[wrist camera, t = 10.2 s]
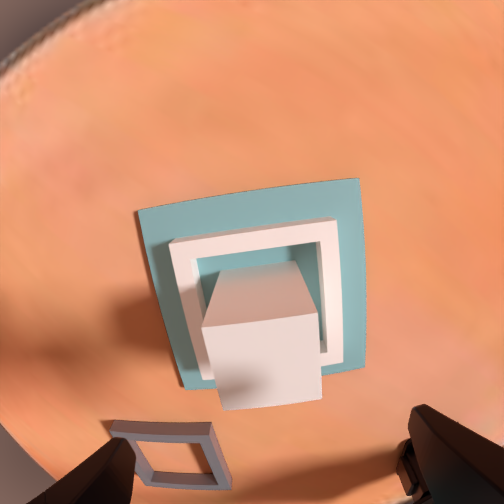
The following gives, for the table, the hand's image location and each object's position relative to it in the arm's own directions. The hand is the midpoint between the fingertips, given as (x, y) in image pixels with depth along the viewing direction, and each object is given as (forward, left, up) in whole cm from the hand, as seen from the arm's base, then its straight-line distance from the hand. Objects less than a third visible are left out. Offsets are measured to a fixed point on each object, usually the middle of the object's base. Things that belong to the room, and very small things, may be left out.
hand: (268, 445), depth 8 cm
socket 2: (0, 0, -12) cm, 12 cm away
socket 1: (+10, +15, -12) cm, 21 cm away
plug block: (0, 0, -11) cm, 11 cm away
